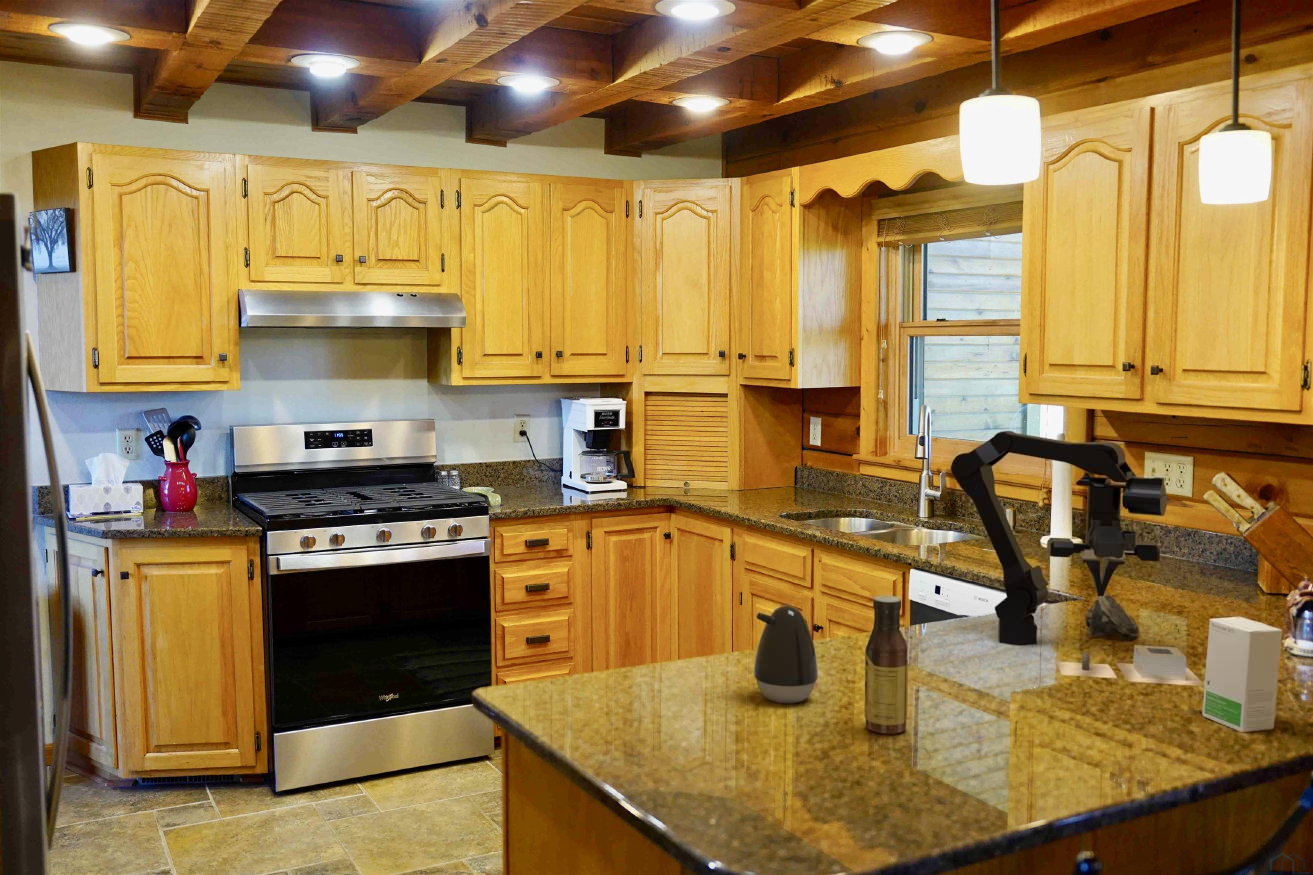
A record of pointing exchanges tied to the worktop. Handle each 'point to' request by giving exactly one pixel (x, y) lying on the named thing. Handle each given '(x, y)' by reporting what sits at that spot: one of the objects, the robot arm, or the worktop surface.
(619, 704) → the worktop surface
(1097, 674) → the stand
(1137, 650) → the collar
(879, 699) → the sauce bottle
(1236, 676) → the skincare box
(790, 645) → the pump dispenser
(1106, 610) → the carved stone fragment
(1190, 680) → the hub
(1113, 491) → the robot arm
